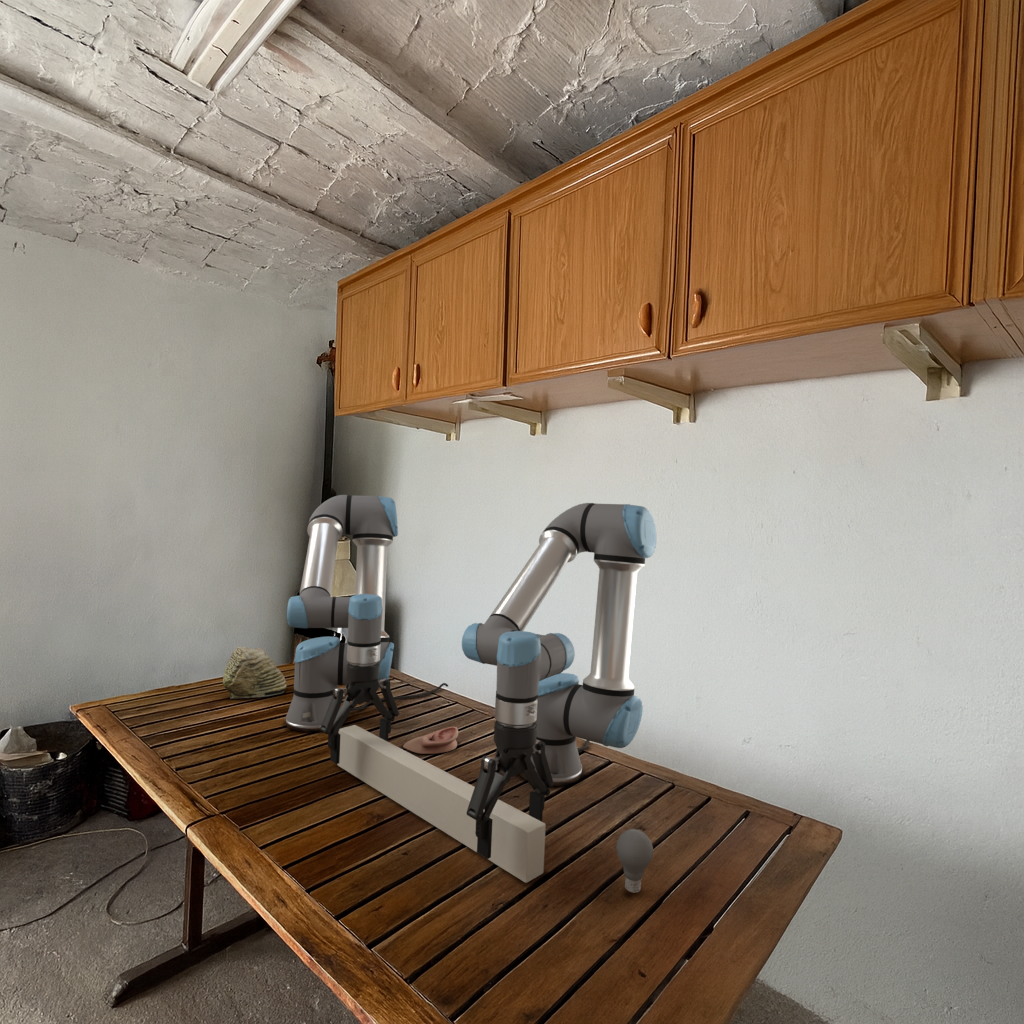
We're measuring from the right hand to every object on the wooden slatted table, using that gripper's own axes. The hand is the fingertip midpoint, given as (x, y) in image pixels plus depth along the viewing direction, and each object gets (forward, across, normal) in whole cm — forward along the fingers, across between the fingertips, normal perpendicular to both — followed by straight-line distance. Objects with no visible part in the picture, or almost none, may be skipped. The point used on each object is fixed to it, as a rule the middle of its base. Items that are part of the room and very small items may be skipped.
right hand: (510, 841), depth 112 cm
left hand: (0, 0, +49) cm, 49 cm away
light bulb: (+4, +10, -19) cm, 22 cm away
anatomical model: (+4, +22, +50) cm, 55 cm away
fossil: (+4, +5, +117) cm, 118 cm away
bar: (+4, 0, +25) cm, 25 cm away
